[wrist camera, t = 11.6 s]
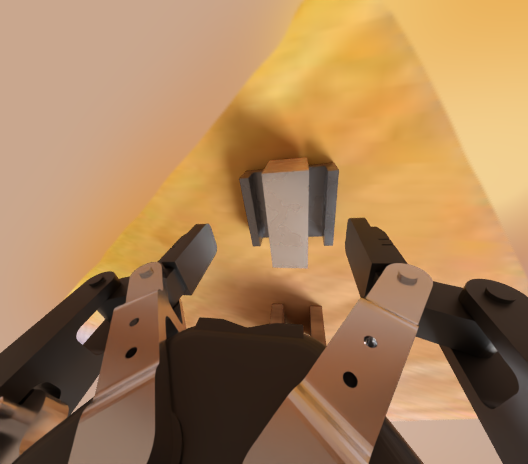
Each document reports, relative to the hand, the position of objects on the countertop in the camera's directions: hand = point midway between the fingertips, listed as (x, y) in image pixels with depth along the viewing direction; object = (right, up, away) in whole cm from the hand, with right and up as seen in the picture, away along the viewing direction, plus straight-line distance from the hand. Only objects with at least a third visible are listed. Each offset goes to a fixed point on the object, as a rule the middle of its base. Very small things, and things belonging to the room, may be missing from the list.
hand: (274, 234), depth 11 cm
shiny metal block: (+3, +3, +12) cm, 13 cm away
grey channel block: (+3, +4, +13) cm, 14 cm away
